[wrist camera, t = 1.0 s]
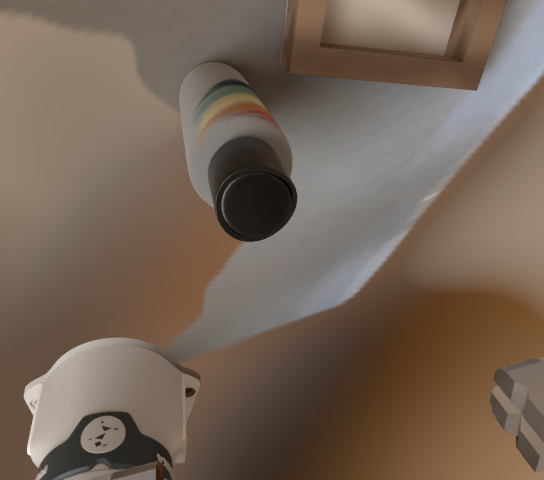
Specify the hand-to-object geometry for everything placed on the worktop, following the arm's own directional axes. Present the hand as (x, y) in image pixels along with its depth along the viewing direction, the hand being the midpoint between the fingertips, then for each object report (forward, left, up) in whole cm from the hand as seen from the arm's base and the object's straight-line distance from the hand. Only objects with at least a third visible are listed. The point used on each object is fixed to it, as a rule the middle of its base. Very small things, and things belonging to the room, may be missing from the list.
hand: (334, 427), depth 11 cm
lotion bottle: (0, 0, -32) cm, 32 cm away
